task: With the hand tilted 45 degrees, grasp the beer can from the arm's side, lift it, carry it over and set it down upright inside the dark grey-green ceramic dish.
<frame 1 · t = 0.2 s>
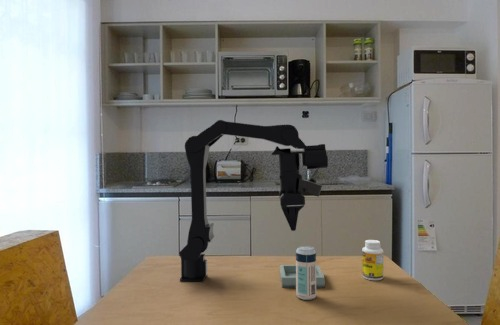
hand: (292, 227, 102), 14 cm above the table, tool pointing down, fingers open, 9 cm apart
beer can: (306, 298, 89), on the table
dish: (301, 280, 101), on the table
supplement bottle: (372, 278, 102), on the table
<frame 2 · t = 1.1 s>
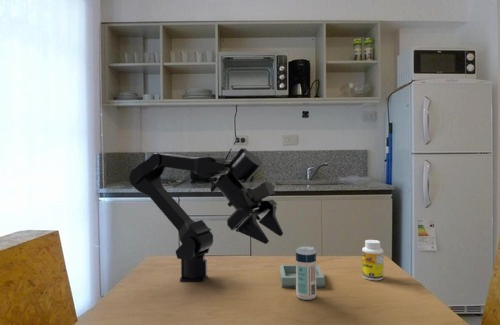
hand: (275, 238, 92), 13 cm above the table, tool tilted 45°, fingers open, 9 cm apart
nothing on the table moved.
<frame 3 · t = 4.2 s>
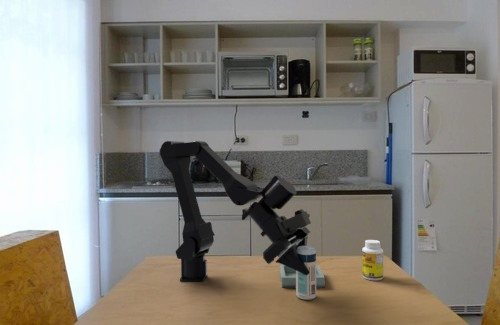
hand: (311, 270, 88), 7 cm above the table, tool tilted 45°, fingers closed on beer can, 5 cm apart
beer can: (306, 298, 89), on the table, touching gripper
everything else where it was.
when the fingers open (8 cm above the table, at t = 8.3 s): beer can drops 1 cm, resting on dish.
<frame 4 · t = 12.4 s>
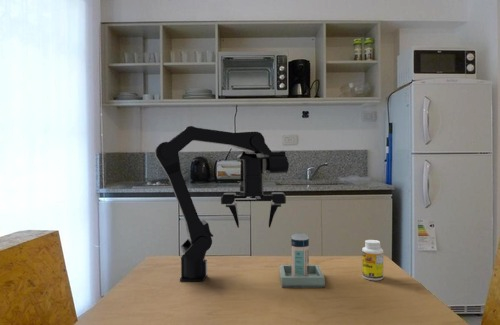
hand: (253, 227, 109), 13 cm above the table, tool pointing down, fingers open, 9 cm apart
beer can: (300, 278, 101), resting on dish
everything else where it was.
at the end: beer can inside the target area on the dish (0.2 cm from its centre), point 0.4 cm above the dish's base; beer can tilted 0°; the gripper is holding nothing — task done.
